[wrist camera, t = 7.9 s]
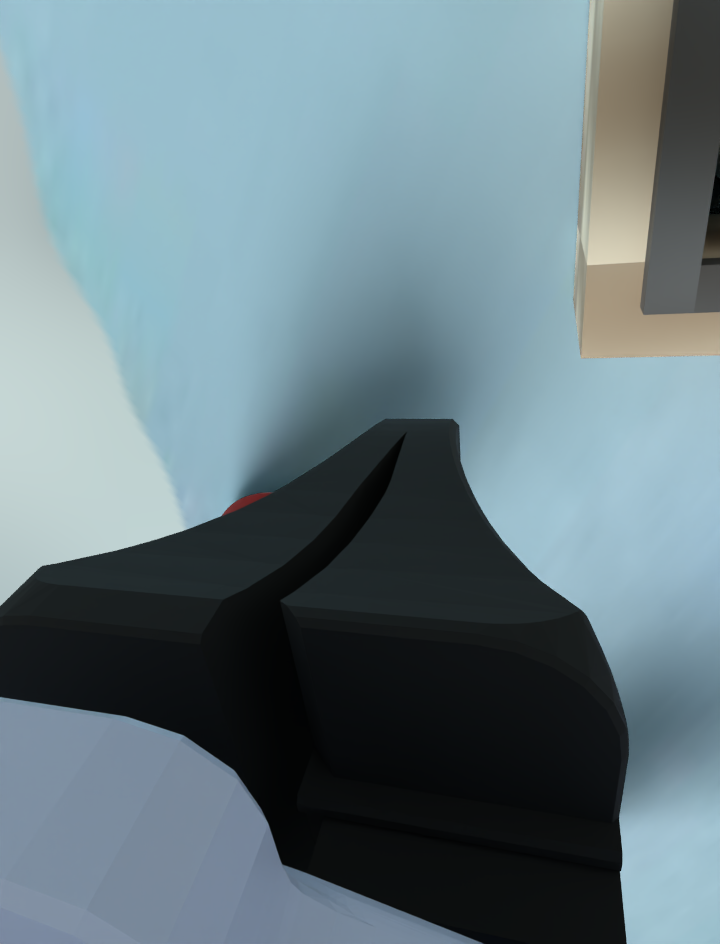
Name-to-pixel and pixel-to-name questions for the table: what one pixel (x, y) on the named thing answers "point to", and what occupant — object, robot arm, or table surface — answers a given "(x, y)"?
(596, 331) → the birch block
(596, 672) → the robot arm
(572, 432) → the table surface
